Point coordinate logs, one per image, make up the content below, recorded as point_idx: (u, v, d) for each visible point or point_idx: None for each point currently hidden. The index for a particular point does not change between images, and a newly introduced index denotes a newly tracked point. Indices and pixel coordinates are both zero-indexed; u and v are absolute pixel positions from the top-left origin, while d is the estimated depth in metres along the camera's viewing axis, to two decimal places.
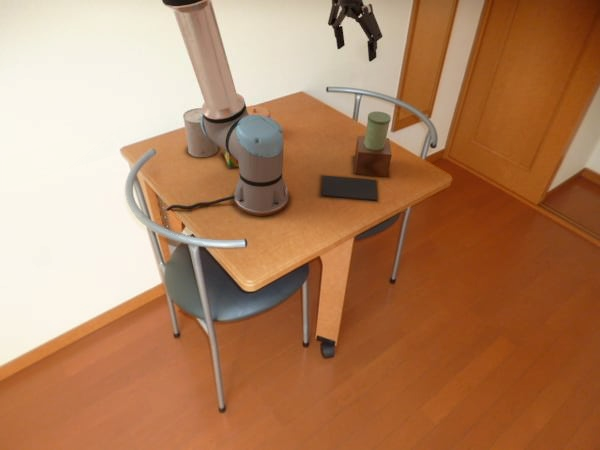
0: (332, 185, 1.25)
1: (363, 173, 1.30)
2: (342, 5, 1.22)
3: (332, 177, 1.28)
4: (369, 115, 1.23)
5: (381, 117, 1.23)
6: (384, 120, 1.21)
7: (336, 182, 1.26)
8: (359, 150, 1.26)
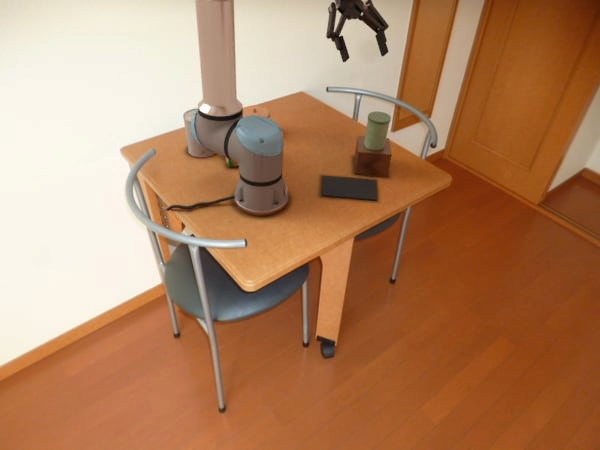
0: (332, 185, 1.25)
1: (363, 173, 1.30)
2: (344, 5, 1.19)
3: (332, 177, 1.28)
4: (369, 115, 1.23)
5: (381, 117, 1.23)
6: (384, 120, 1.21)
7: (336, 182, 1.26)
8: (359, 150, 1.26)
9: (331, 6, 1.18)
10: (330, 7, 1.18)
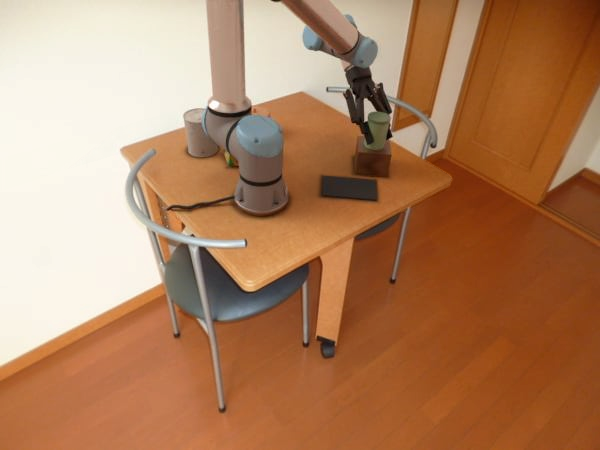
0: (332, 185, 1.25)
1: (363, 173, 1.30)
2: (357, 87, 1.24)
3: (332, 177, 1.28)
4: (369, 115, 1.23)
5: (381, 117, 1.23)
6: (384, 120, 1.21)
7: (336, 182, 1.26)
8: (359, 150, 1.26)
9: (347, 93, 1.23)
10: (346, 94, 1.23)
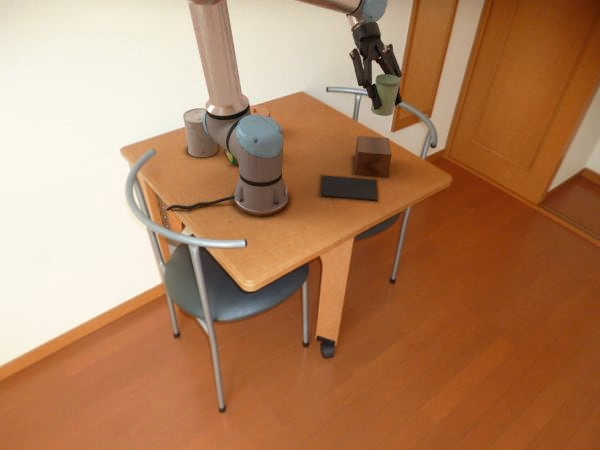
0: (332, 185, 1.25)
1: (363, 173, 1.30)
2: (365, 47, 1.15)
3: (332, 177, 1.28)
4: (377, 77, 1.15)
5: (390, 79, 1.14)
6: (393, 82, 1.13)
7: (336, 182, 1.26)
8: (359, 150, 1.26)
9: (354, 53, 1.14)
10: (352, 54, 1.15)
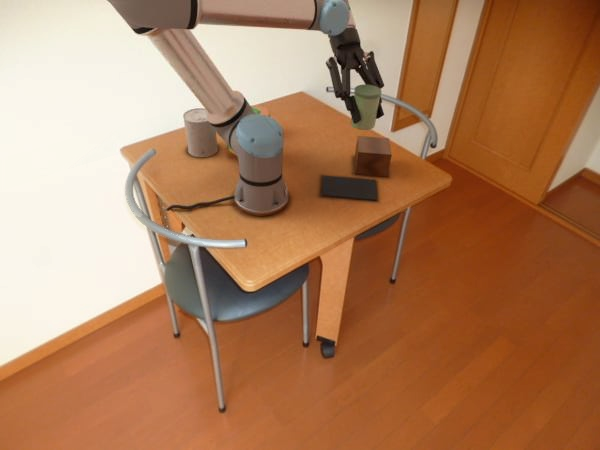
0: (332, 185, 1.25)
1: (363, 173, 1.30)
2: (342, 55, 1.05)
3: (332, 177, 1.28)
4: (356, 88, 1.05)
5: (370, 90, 1.04)
6: (373, 94, 1.03)
7: (336, 182, 1.26)
8: (359, 150, 1.26)
9: (330, 62, 1.04)
10: (329, 63, 1.05)
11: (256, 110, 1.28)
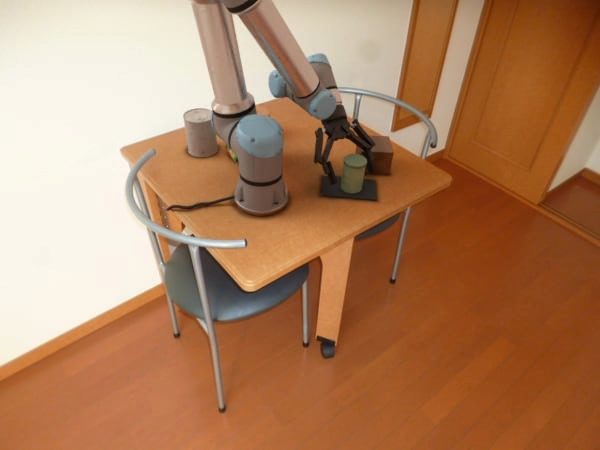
0: (332, 185, 1.25)
1: (365, 172, 1.31)
2: (331, 129, 1.19)
3: None
4: (345, 158, 1.19)
5: (357, 161, 1.18)
6: (360, 164, 1.17)
7: None
8: (361, 149, 1.27)
9: (318, 131, 1.18)
10: (317, 132, 1.18)
11: None
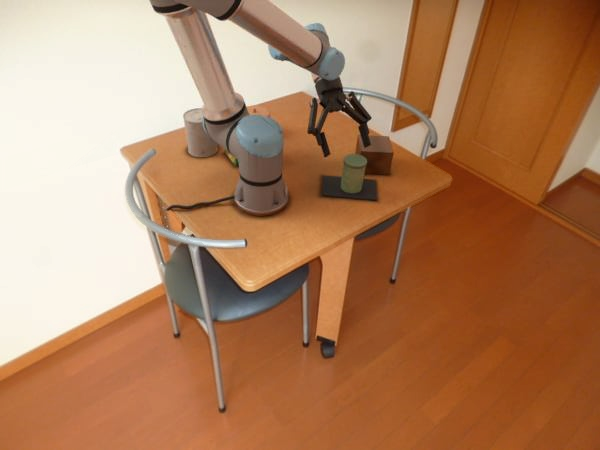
0: (332, 185, 1.25)
1: (365, 172, 1.31)
2: (326, 100, 1.17)
3: (332, 177, 1.28)
4: (345, 158, 1.19)
5: (357, 161, 1.18)
6: (360, 164, 1.17)
7: (336, 182, 1.26)
8: (361, 149, 1.27)
9: (312, 102, 1.16)
10: (311, 102, 1.17)
11: None
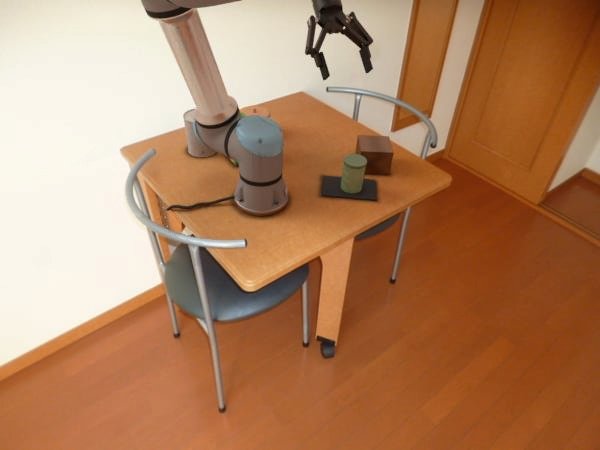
0: (332, 185, 1.25)
1: (365, 172, 1.31)
2: (325, 19, 1.10)
3: (332, 177, 1.28)
4: (345, 158, 1.19)
5: (357, 161, 1.18)
6: (360, 164, 1.17)
7: (336, 182, 1.26)
8: (361, 149, 1.27)
9: (310, 20, 1.08)
10: (309, 21, 1.09)
11: None
